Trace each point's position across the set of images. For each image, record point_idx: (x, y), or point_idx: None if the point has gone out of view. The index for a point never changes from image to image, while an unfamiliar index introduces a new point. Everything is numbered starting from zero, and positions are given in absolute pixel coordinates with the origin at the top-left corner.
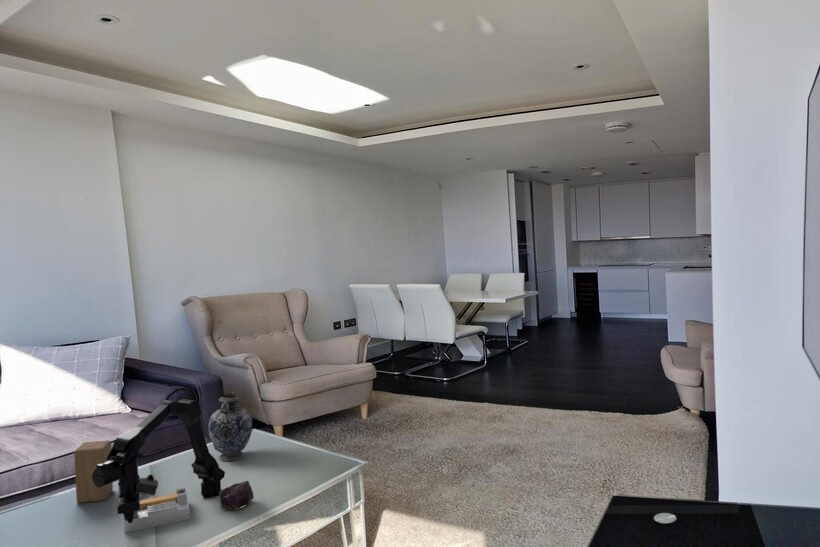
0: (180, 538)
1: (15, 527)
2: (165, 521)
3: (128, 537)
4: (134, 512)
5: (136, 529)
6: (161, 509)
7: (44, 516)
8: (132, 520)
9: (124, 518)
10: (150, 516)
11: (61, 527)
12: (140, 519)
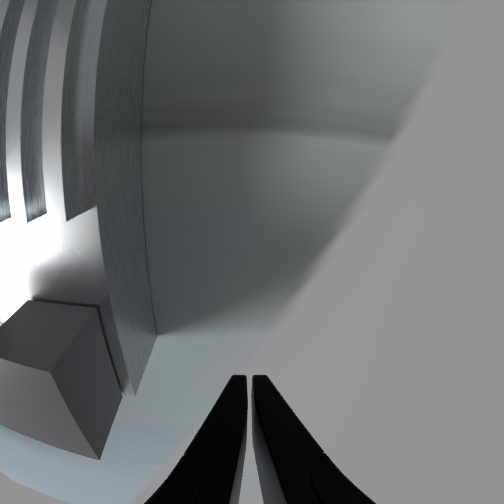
0: (431, 12)
1: (61, 496)
2: (136, 49)
3: (235, 317)
4: (79, 366)
5: (144, 271)
6: (64, 48)
7: (13, 461)
8: (276, 389)
9: (117, 403)
10: (98, 176)
11: (62, 465)
12: (113, 273)
